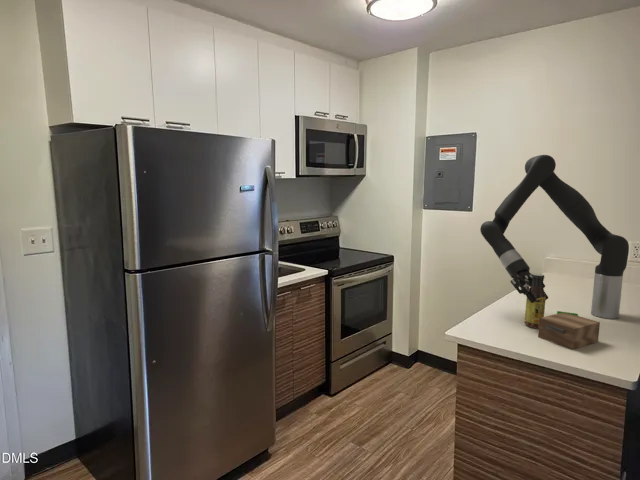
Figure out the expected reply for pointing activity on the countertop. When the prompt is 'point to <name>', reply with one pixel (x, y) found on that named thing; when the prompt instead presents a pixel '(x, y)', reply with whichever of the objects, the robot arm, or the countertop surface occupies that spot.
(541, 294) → the sauce bottle
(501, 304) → the countertop surface
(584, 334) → the walnut box
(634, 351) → the countertop surface
